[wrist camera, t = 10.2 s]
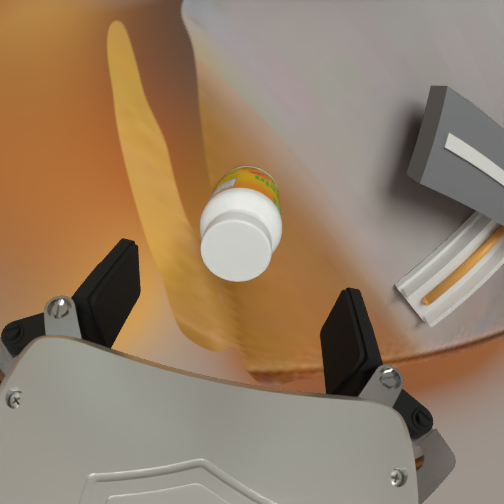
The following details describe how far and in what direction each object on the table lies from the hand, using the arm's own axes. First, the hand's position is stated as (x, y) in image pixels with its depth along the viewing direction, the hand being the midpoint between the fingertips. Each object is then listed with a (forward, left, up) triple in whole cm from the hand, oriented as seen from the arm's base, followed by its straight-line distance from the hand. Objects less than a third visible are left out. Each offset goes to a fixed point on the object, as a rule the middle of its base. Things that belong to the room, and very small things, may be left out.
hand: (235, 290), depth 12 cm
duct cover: (-20, +14, -10) cm, 26 cm away
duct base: (-14, +23, -13) cm, 30 cm away
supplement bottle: (0, 0, -14) cm, 13 cm away
